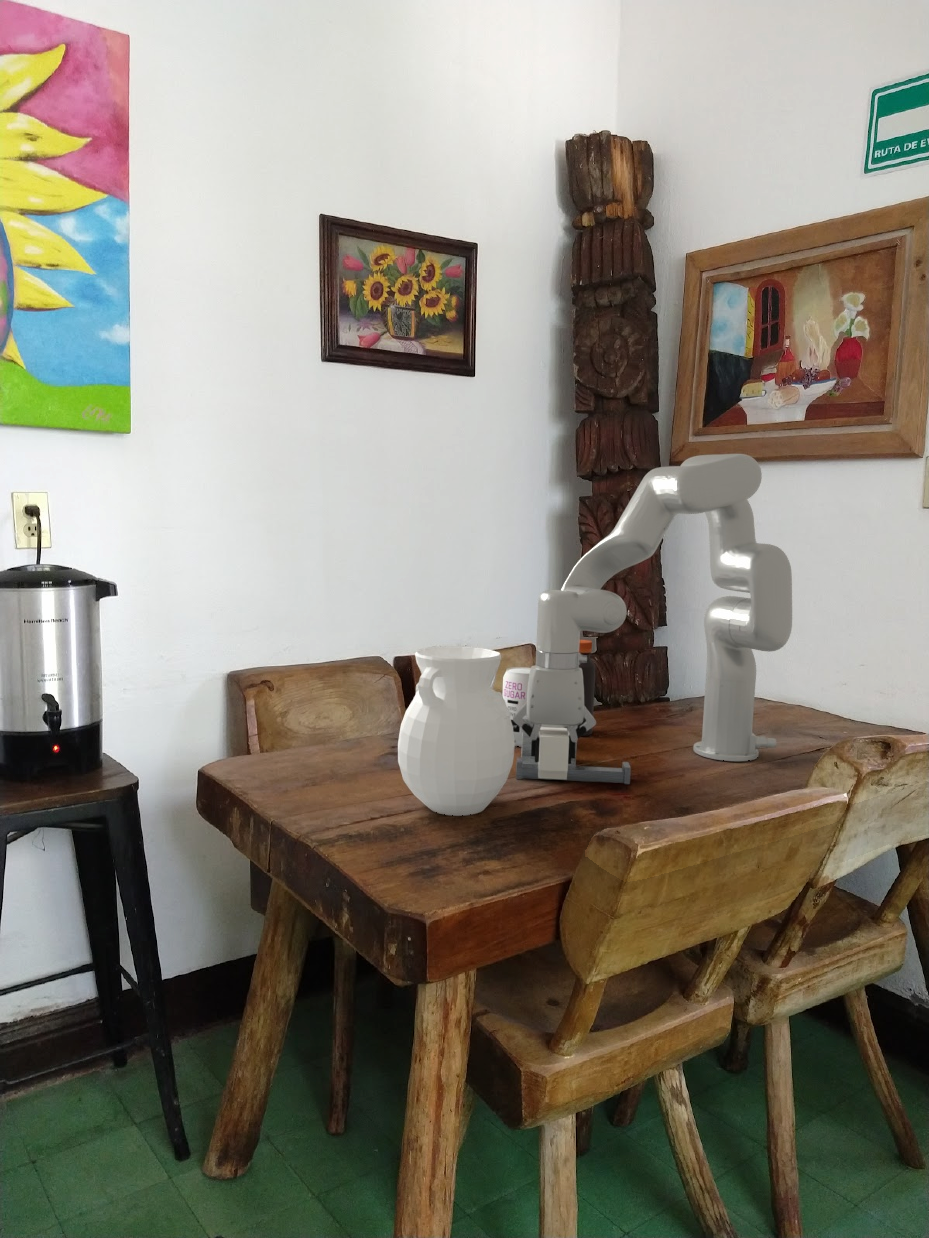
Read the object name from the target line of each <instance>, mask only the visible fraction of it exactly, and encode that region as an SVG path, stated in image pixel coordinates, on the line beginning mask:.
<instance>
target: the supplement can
mask: <svg viewBox="0 0 929 1238" xmlns="http://www.w3.org/2000/svg"><path fill="white" fill-rule="evenodd" d="M530 670H531V667H521V666H517V667H515V666H514V667H508V668H507V669H506V671H505V673H504V675H503V678H502V696H503V699H504V700H505V703H506V706H507V707H508V709H509V710H510V715H511V716H510V719H511V722H512V726H513V733H514V743H515V747H517V746H519V747H520V748H522V728H521V727H519V726H518V725H517V724H516V723H515V722H514V721H513V717H514V715H515V714H516V713H517V712H518V711H519V710H520V709H521V708H522V707H523V705H524V704H525V703H526V699H527V688H528V680H529V674H530ZM519 747H518V748H519Z"/></svg>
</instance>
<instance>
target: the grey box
mask: <svg viewBox="0 0 929 1238" xmlns="http://www.w3.org/2000/svg"><path fill="white" fill-rule="evenodd" d="M523 720H524V721H525V722H527V723H528V724H529V725H530V726H531V727H532V726H533V723H531V722H529V721H528V720H527V715H525V716H524V717H523ZM577 726H578V725H575V729H577ZM541 727H548V728H567V731H568V735H570V734H569V730H568V726H565V725H543V724H542V725H541ZM538 735H539V734H538ZM531 743H532V739H531V738H530V737H529V736H528V735H527V733H526V732H525V731H524V730H523V729H522V747H521V749H520V750H521V751H520V752H521V754H520V755H521V756H520V757H522V761H523V764H538V762H535V756H531ZM577 743H578V740H577V741H576V747H575V758H571V764H568V766H577V764H576V763H577V748H578V747H577V745H578V744H577Z"/></svg>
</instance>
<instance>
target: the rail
mask: <svg viewBox="0 0 929 1238" xmlns="http://www.w3.org/2000/svg"><path fill="white" fill-rule="evenodd" d="M621 765H622V766H621V767H606V766H605V767H604V766H603V767H602V766H585V765H584V766H583V765H579V766H578V765H576V766H568V771H567V780H566V781H571V782H572V781H574V782H575V781H577V782H594V783H612V784H613V783H615V784H616V783H617V784H618V783H619V784H623V785H631V770H632V767H631V765H630V763H629V762H628V761H622V764H621ZM515 766H516V767H515V768H516V769H515V771H516V772H515V779H516V780H523V779H529V780H531V779H533V780H543V779H542V778H538V770H539V766H538V764H523V761H522V757H521V756H520V757H519V756H516V765H515ZM547 780H551V781H553V780H554V781H565V780H564V779H546V781H547Z"/></svg>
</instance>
